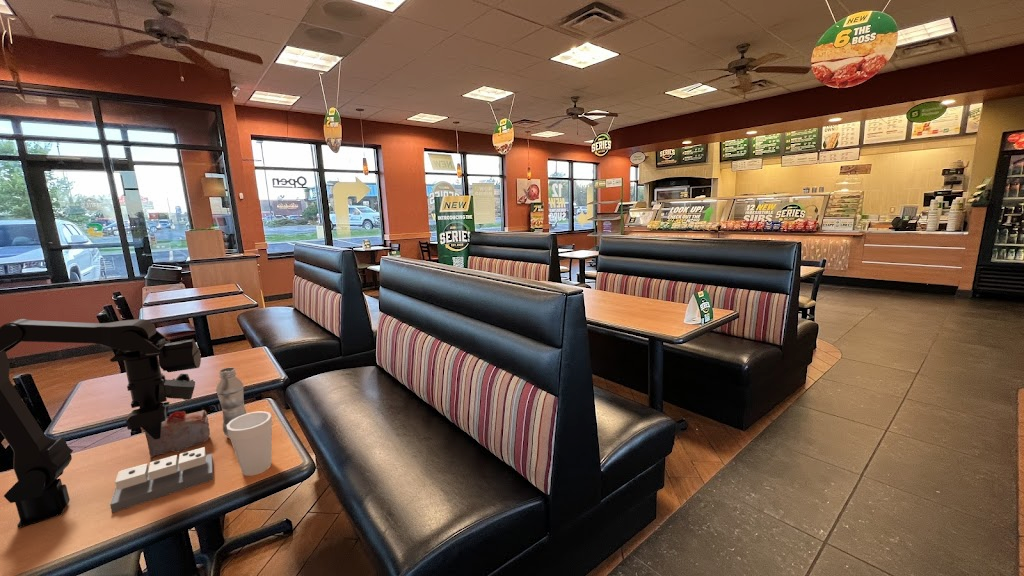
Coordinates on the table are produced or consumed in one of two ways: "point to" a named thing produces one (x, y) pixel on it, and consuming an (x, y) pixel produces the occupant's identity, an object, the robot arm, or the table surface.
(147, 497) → the keypad board
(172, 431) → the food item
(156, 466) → the key two
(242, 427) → the foam cup
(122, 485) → the key one
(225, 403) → the plastic bottle
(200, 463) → the key three
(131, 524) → the table surface
